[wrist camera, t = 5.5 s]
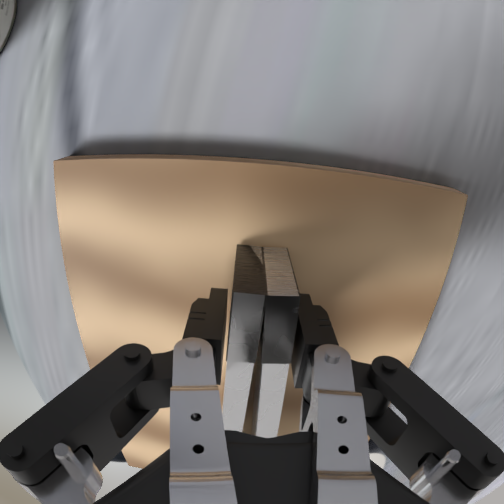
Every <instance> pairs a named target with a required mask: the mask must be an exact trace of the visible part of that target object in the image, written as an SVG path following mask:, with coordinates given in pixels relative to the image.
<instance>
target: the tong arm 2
mask: <svg viewBox="0 0 504 504" xmlns="http://www.w3.org/2000/svg"><path fill="white" fill-rule="evenodd" d="M262 249H263V260H264V271H265V282H266V293H267V295H266V303H265V309H264V315H263V321H262V327H261V333H260V339H259V345H258V351H257V358H256V373H255V388H254V402H253V416H252V430H251V435H255V436H259V437H264V438H272V437H277V434H278V428H279V423H280V417H281V411H282V406H283V400H284V394H285V388H286V382H287V376H288V369H289V364H291V359H292V352H293V346H294V339H295V332H296V325H297V318H298V311H299V303H300V292H299V289H298V285H297V281H296V277H295V274H294V270H293V266H292V262H291V259H290V255H289V251H288V248H278V247H262Z"/></svg>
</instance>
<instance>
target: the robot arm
mask: <svg viewBox="0 0 504 504" xmlns="http://www.w3.org/2000/svg"><path fill="white" fill-rule="evenodd" d="M227 298H228V289H224V288H211V291H210V296H209V299H207V298H198V299H197V300H196V301H194V302H193V303H192V305H191V309H190V313H189V316H188V319H187V323H186V327H185V330H184V334H183V338H182V340H180V341H178V342H177V343H176V344H175V346H174V349H173V350H171V351H168V352H164V353H156V354H151V351H150V350H149V348H147V347H146V346H144V345H142V344H137V343H130V344H126V345H123V346H121V347H119V348H118V349H117V350H115V351H114V352H113V353H111V354H110V355H109V356H108V357H106V358H105V359H104V360H102V361H101V362H100V363H99V364H97V365H96V366H95V367H93V368H92V369H91V370H90V371H88V372H87V373H86V374H84V375H83V376H82V377H81V378H79V379H78V380H77V381H76V382H74V383H73V384H72V385H70V386H69V387H68V388H67V389H65V390H64V391H63V392H61V393H60V394H59V395H58V396H56V397H55V398H54V399H53V400H51V401H50V402H49V403H47V404H46V405H45V406H44V407H42V408H41V409H40V410H39V411H37V412H36V413H35V414H33V415H32V416H31V417H30V418H28V419H27V420H26V421H25V422H23V423H22V424H21V425H20V426H18V427H17V428H16V429H14V430H13V431H12V432H11V433H9V434H8V435H7V436H6V437H4V439H2V441H1V442H0V462H1V463H2V465H3V466H4V467H5V468H6V469H7V470H8V471H9V473H11V475H12V476H13V478H14V479H15V480H16V481H17V482H18V483H19V484H20V485H21V486H22V487H23V488H24V489H25V490H26V491H27V492H28V493H29V494H30V495H32V496H33V497H35V498H36V499H37V500H39V501H40V502H41V503H42V504H467V503H468V502H469V501H470V500H471V499H472V498H474V497H475V496H476V495H477V494H478V493H480V492H481V491H482V490H483V489H484V488H486V487H487V486H488V485H489V484H490V483H491V482H492V481H494V480H495V479H496V478H497V477H498V476H499V475H500V474H501V473H502V472H503V471H504V453H503V451H502V450H501V449H500V448H499V447H498V446H497V445H496V444H494V443H493V442H492V441H491V440H490V439H489V438H488V437H487V436H485V435H484V434H483V433H482V432H481V431H480V430H479V429H477V428H476V427H475V426H474V425H473V424H472V423H471V422H470V421H468V420H467V419H466V418H465V417H464V416H463V415H462V414H460V413H459V412H458V411H457V410H456V409H455V408H454V407H452V406H451V405H450V404H449V403H448V402H447V401H446V400H444V399H443V398H442V397H441V396H440V395H439V394H438V393H436V392H435V391H434V390H433V389H432V388H431V387H429V386H428V385H427V384H426V383H425V382H424V381H423V380H421V379H420V378H419V377H418V376H417V375H416V374H414V373H413V372H412V371H411V370H410V369H409V368H407V367H406V366H405V365H404V364H403V363H402V362H401V361H399V360H398V359H396V358H394V357H391V356H378V357H376V358H375V359H374V360H373V361H372V363H371V364H367V363H362V362H358V361H354V360H352V359H351V357H350V354H349V353H348V351H347V350H345V349H344V348H342V347H340V346H339V344H338V341H337V338H336V335H335V333H334V330H333V327H332V324H331V321H330V319H329V316H328V313H327V311H326V310H325V309H324V308H323V307H321V306H320V305H313V304H312V300H311V297H310V294H303V293H300V303H299V311H298V318H297V325H296V332H295V339H294V346H293V352H292V359H291V368H292V374H293V381H294V388H302V389H303V396H302V399H301V409H300V425H299V432H295V433H291V434H287V435H282V436H277V437H272V438H264V437H259V436H255V435H251V434H247V433H243V432H239V431H234V430H224V424H223V417H222V409H221V402H220V394H219V388H218V386H217V385H221V375H222V364H223V354H224V343H225V333H226V319H227ZM390 403H392V404H393V405H394V406H395V407H396V408H397V409H398V410H399V411H400V412H401V413H402V414H403V415H404V416H405V417H406V419H407V422H408V425H407V424H406V423H405V422H404V421H403V420H402V419H401V418H400V417H399V416H398V415H397V414H395V413H394V412H393V411H392V410H391V409H390V408H389V407H388V406H389V405H390ZM168 407H170V449H168V450H167V451H165V452H164V453H163V454H162V455H160V456H159V457H158V458H156V459H155V460H154V461H152V462H151V463H150V464H148V465H147V466H146V467H144V468H143V469H142V470H140V471H139V472H138V473H136V474H135V475H134V476H132V477H131V478H129V479H128V480H127V481H126V482H124V483H122V484H121V485H120V486H118V487H117V488H115V489H114V490H112V491H111V492H109V493H108V494H107V495H105V496H104V497H102V498H101V499H99V500H97V501H96V502H95V497H96V495H97V493H98V491H99V490H100V489H101V486H102V483H103V479H102V475H101V473H100V471H101V470H102V469H103V468H104V467H105V466H106V465H107V464H108V463H109V462H110V461H111V460H112V459H113V458H114V457H115V456H116V455H117V454H118V453H119V452H120V451H121V450H122V449H123V448H124V447H125V446H126V445H127V444H128V443H129V442H130V441H131V440H132V438H133V437H134V436H135V435H136V434H137V433H138V432H139V431H140V430H141V429H142V428H143V427H144V426H145V425H146V424H147V423H148V422H149V421H150V420H151V419H152V418H153V417H154V415H155V414H156V413H157V412H158V411H159V409H160V408H168ZM367 435H368V436H369V437H370V438H371V439H372V440H373V441H374V442H375V444H376V445H377V446H378V447H379V448H380V449H381V450H382V451H383V452H384V453H385V454H386V455H387V457H388V458H389V459H390V460H391V461H392V462H393V463H394V464H395V465H396V466H397V467H398V468H399V469H400V470H401V472H402V473H403V474H404V475H405V476H406V477H407V478H408V479H409V480H410V482H409V485H410V489H411V490H410V489H409V488H407V487H406V486H405V485H403V484H402V483H401V482H399V481H398V480H396V479H395V478H394V477H392V476H391V475H390V474H388V473H387V472H386V471H384V470H383V469H382V468H380V467H379V466H378V465H376V464H375V463H374V462H373V461H371V460H370V457H369V446H368V436H367Z"/></svg>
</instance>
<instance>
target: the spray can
mask: <svg viewBox="0 0 504 504" xmlns="http://www.w3.org/2000/svg"><path fill="white" fill-rule="evenodd" d="M16 10H17V2H16V0H0V52H1V50H2V49H3V47H4V45H5V43H6V42H7V40H8V37H9V34H10V31H11V29H12V27H13V23H14V20H15V16H16Z"/></svg>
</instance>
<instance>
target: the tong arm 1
mask: <svg viewBox="0 0 504 504" xmlns="http://www.w3.org/2000/svg"><path fill="white" fill-rule="evenodd" d="M266 295H267V293H266V282H265V271H264V260H263V249H262V247H259V246H250V245H240V244H237V247H236V257H235V267H234V277H233V287H232V297H231V308H230V319H229V330H228V341H227V352H226V371H225V383H224V394H223V405H222V417H223V424H224V430H234V431H239V432H242V430H243V425H244V419H245V413H246V408H247V402H248V396H249V390H250V384H251V379H252V373H253V367H254V363H256V357H257V351H258V345H259V339H260V333H261V327H262V321H263V315H264V309H265V303H266Z"/></svg>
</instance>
